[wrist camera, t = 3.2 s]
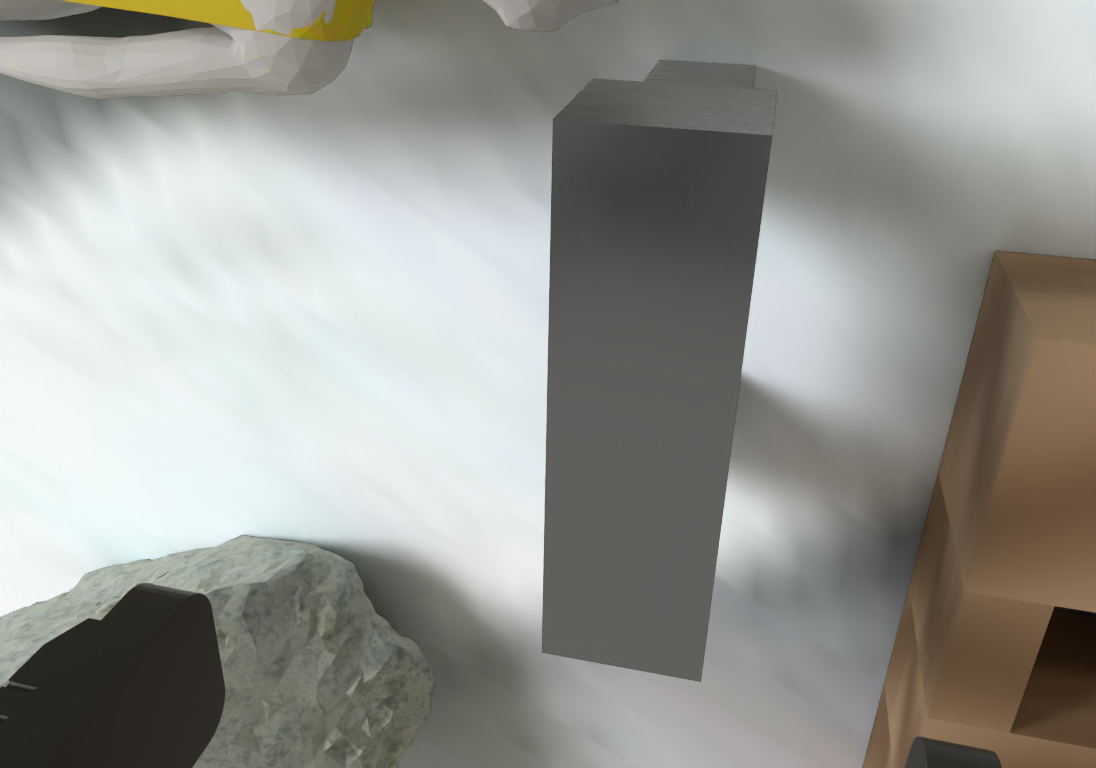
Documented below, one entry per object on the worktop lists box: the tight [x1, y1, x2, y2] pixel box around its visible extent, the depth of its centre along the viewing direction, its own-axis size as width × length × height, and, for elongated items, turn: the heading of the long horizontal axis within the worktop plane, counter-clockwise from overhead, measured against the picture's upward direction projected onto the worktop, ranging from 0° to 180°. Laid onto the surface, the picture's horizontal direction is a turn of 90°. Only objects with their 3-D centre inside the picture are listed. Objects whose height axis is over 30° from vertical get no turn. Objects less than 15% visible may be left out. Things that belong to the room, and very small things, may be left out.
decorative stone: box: [0, 535, 435, 768], centre depth 29 cm, size 14×11×10 cm
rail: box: [863, 251, 1096, 768], centre depth 23 cm, size 22×7×4 cm, turn 179°
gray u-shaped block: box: [542, 60, 777, 682], centre depth 19 cm, size 10×3×8 cm, turn 179°
